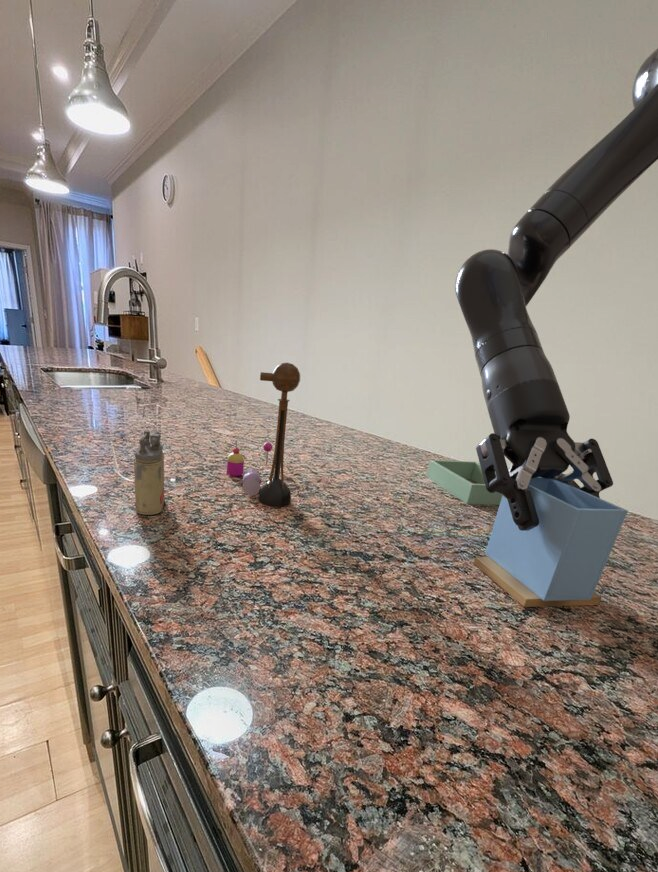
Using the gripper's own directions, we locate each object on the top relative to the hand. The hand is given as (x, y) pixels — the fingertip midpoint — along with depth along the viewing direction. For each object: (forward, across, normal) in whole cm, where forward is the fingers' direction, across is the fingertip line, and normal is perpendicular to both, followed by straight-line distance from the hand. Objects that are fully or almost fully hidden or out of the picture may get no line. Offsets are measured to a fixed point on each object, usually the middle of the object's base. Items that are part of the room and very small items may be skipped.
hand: (563, 528), depth 46 cm
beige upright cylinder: (-11, -44, +22) cm, 50 cm away
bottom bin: (-14, +8, +25) cm, 30 cm away
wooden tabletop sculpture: (-13, -26, +23) cm, 37 cm away
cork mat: (+4, 0, +6) cm, 8 cm away
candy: (-20, -28, +31) cm, 47 cm away
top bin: (+4, 0, +6) cm, 7 cm away
